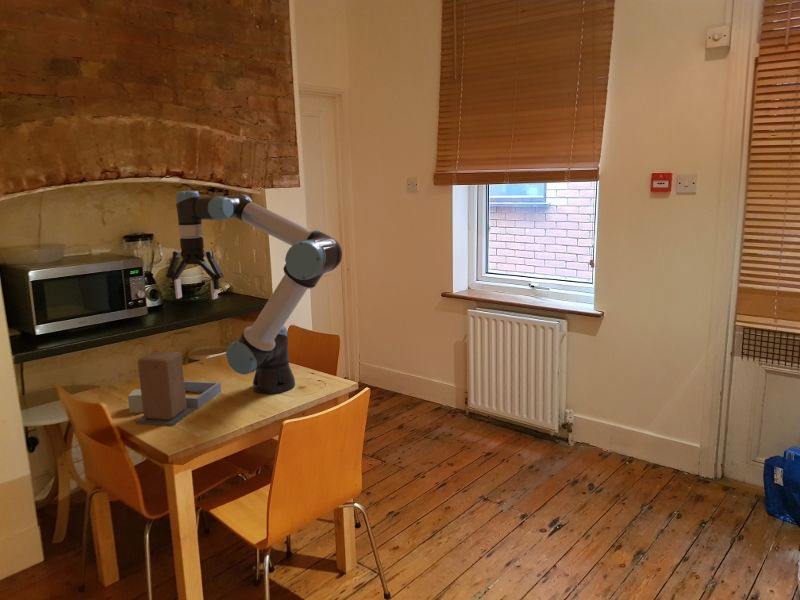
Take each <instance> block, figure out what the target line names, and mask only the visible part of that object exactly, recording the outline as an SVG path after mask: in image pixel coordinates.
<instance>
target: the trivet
mask: <svg viewBox="0 0 800 600" xmlns="http://www.w3.org/2000/svg"><path fill="white" fill-rule="evenodd" d="M195 409H196V408H188V407H186V410H184V411H183V412H182V413H180V414H179V415H177V416H176V417H175V418H173V419H171V420H162V419H146V418H144V415H143V416H141V417H140V418H138V419H136V420H135V424H138V425H139V424H141V425H142V424H144V425H152V426H153V425H154V426H155V425H156V426H170V427H173V426H176V424H178V423H179V422H181V421H182V420H183V419H184V418H186V417H188V416H189V415H190V414H192V413H193V412H194V411H196V410H195Z"/></svg>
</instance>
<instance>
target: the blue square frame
mask: <svg viewBox="0 0 800 600" xmlns="http://www.w3.org/2000/svg"><path fill="white" fill-rule="evenodd" d="M184 386H185V392H196V393H197V392H198V393H201V394H199V395H197V396H196V397H191V396H185V397H186V407H188V408H194V409H200V408H201V407H203V406H204V405H205V404H207V403H208V402H209V401H211V400H212V399H213V398H215V397H216V396H218V395H219V394H220V393H222V386H221V382H217V381H216V382H213V381H196V380H195V381H194V380H184Z"/></svg>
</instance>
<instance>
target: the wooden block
mask: <svg viewBox="0 0 800 600" xmlns="http://www.w3.org/2000/svg"><path fill="white" fill-rule="evenodd" d="M183 367H184V366H183V358H182V352H180V351H164V350H163V351H162V350H161V351H159V350H158V351H157V350H155V351H153V352H151V353H149V354H146V355H144V356H142V357H141V358H140V357H139V358H138V360H137V368H138V376H139V385H140V387H139V388H140V389H141V396H142V405H143V412H142V413H143V416H144V418H146V419H162V420H171V419H173V418H175V417H176V416H177V415H179V414H180V413H182V412H183V411H184V410H186V397H187V396H186V391H185V386H184V381H185V380H184V379H185V378H184V377H185V376H184V371H183V370H184V369H183Z"/></svg>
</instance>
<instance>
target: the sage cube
mask: <svg viewBox="0 0 800 600" xmlns="http://www.w3.org/2000/svg"><path fill="white" fill-rule="evenodd" d="M127 401H128V411H129V413H130V414H133V413H143V405H142V396H141V388H139V389H138V388H137V389H133V390H132V391H131V392H130V393H129V394H128V395H127Z"/></svg>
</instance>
